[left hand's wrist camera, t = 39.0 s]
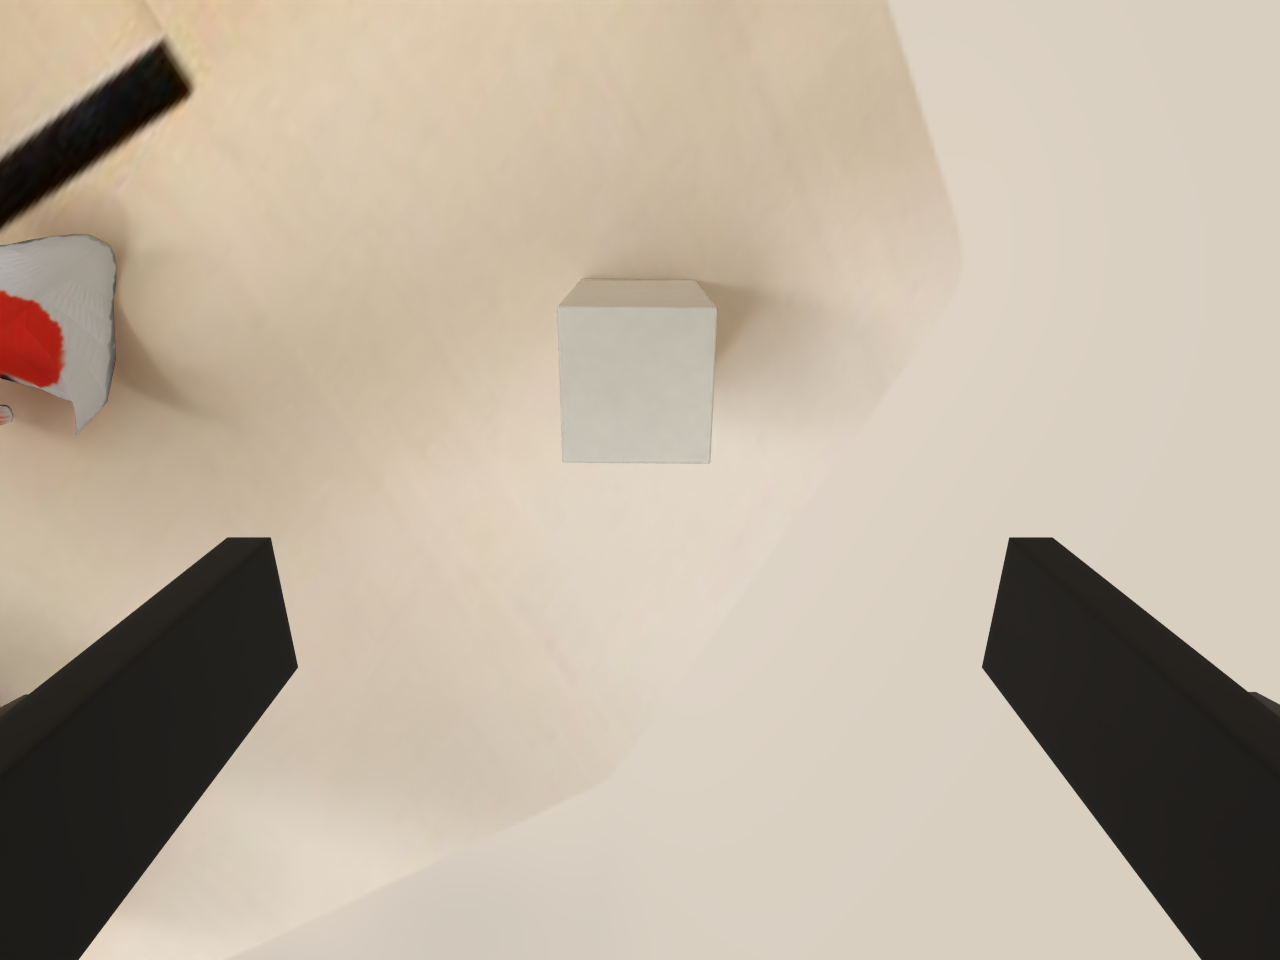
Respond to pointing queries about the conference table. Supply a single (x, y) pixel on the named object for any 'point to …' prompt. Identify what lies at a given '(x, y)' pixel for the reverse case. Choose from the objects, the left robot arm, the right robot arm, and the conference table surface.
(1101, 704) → the left robot arm
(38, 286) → the fish
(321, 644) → the conference table surface
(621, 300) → the block
